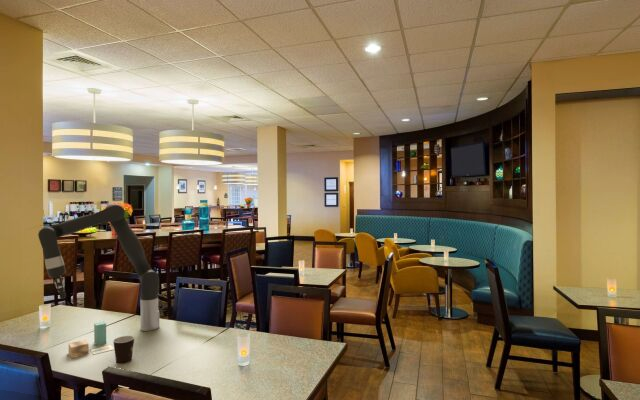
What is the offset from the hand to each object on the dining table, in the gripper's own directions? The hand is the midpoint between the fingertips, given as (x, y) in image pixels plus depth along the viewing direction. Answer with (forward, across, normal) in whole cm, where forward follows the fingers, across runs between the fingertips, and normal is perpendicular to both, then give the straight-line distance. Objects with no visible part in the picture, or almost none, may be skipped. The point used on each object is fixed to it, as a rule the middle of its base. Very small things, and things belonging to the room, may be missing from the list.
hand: (63, 297), depth 190 cm
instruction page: (+29, -14, -10) cm, 33 cm away
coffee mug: (+32, -32, -18) cm, 49 cm away
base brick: (+27, -12, -1) cm, 29 cm away
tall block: (+28, -2, -10) cm, 30 cm away
